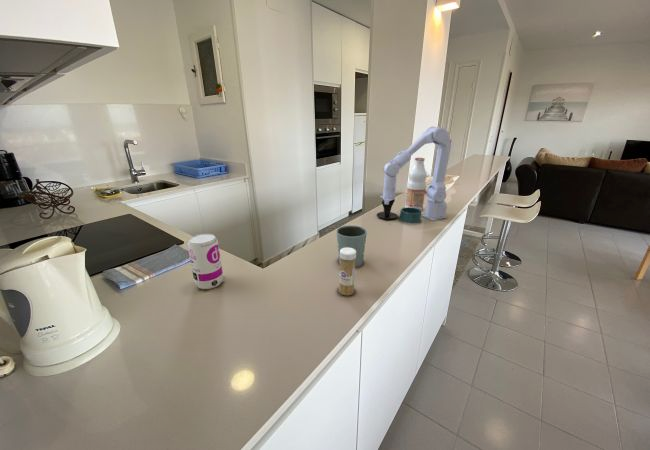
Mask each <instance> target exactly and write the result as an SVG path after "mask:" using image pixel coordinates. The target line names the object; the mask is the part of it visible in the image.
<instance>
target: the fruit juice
mask: <svg viewBox="0 0 650 450" xmlns="http://www.w3.org/2000/svg"><path fill="white" fill-rule="evenodd" d="M424 162H425V157H415V158H414V164H413V166H412V168H411V169H410V171H409V173H408V179H409V180H408V182H407V187H406V195H405V203H404V208H406V207H410V208H417V209H419V210H421V211H422V210H423V208H424V201H425V194H426V187H427V184H426V179H427V177H428V173H427V171H426V168H425V163H424Z"/></svg>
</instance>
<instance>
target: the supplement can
mask: <svg viewBox="0 0 650 450" xmlns="http://www.w3.org/2000/svg"><path fill="white" fill-rule="evenodd" d="M187 251H188V258H189V262H190V266H191V271H192V277H193V281H194V286H196V287H197V288H199V289H200V290H211V289H214V288H216V287H218V286H220V285H221V284H222V282H223V281H224V274H223V273H224V271H223V266H222V265H223V264H222V259H221V252H220V247H219V240H218V239H217V237H216V236H215V234H212V233H199V234H196V235H193V236H191V237H190V238H189V239H188V243H187Z"/></svg>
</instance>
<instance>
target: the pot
mask: <svg viewBox="0 0 650 450" xmlns="http://www.w3.org/2000/svg"><path fill="white" fill-rule="evenodd" d="M399 211H400V213H399V221H401V222H403V223H406V224H418V223H420V222H421V219H422V212H423V211H422V210H419V209H417V208H410V207H406V208H405V207H402V208H400V210H399Z"/></svg>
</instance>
